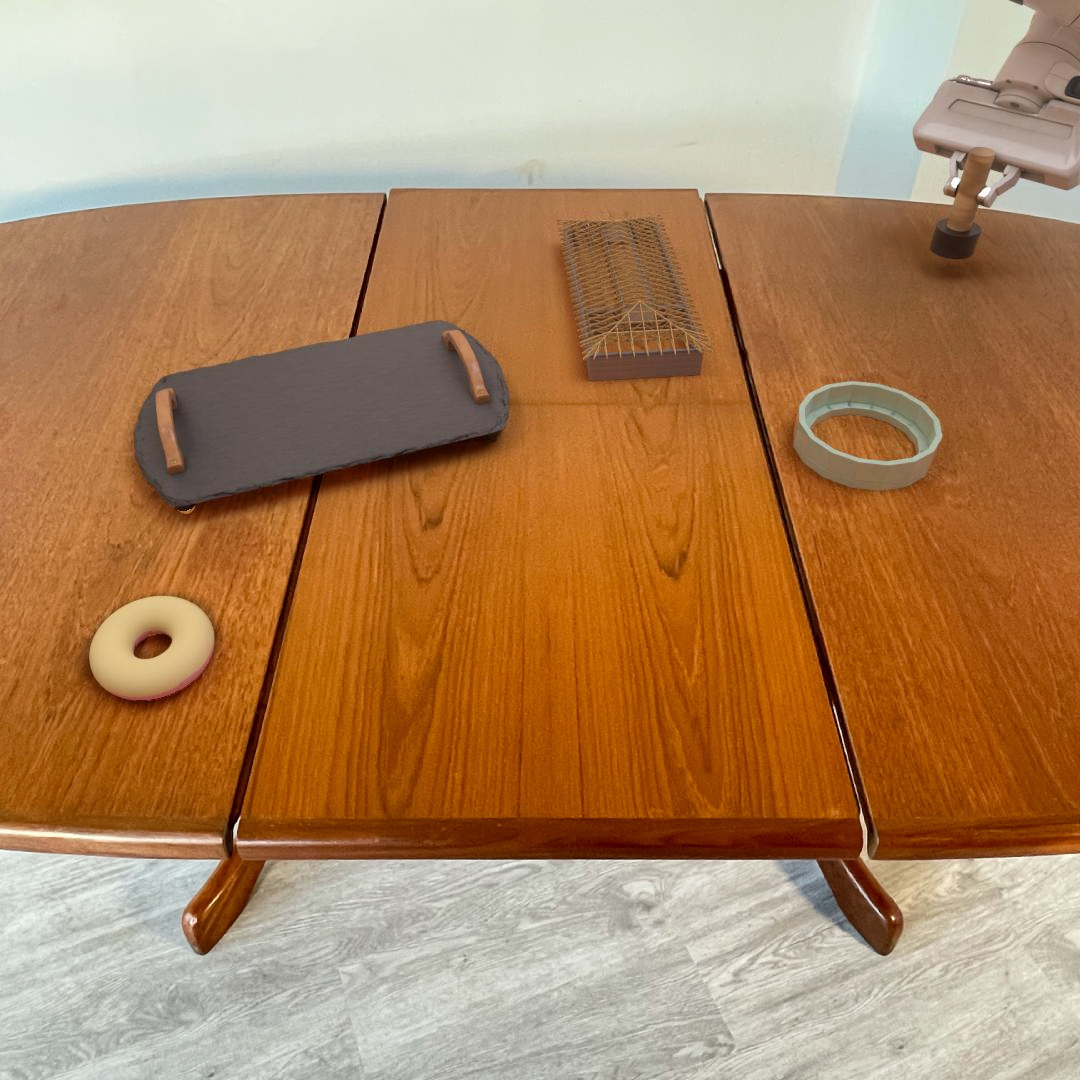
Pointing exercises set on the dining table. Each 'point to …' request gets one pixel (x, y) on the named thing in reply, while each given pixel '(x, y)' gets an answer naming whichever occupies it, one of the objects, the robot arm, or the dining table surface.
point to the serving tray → (316, 411)
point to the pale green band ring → (875, 404)
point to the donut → (160, 673)
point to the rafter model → (636, 314)
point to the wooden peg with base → (964, 209)
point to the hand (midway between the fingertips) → (965, 199)
